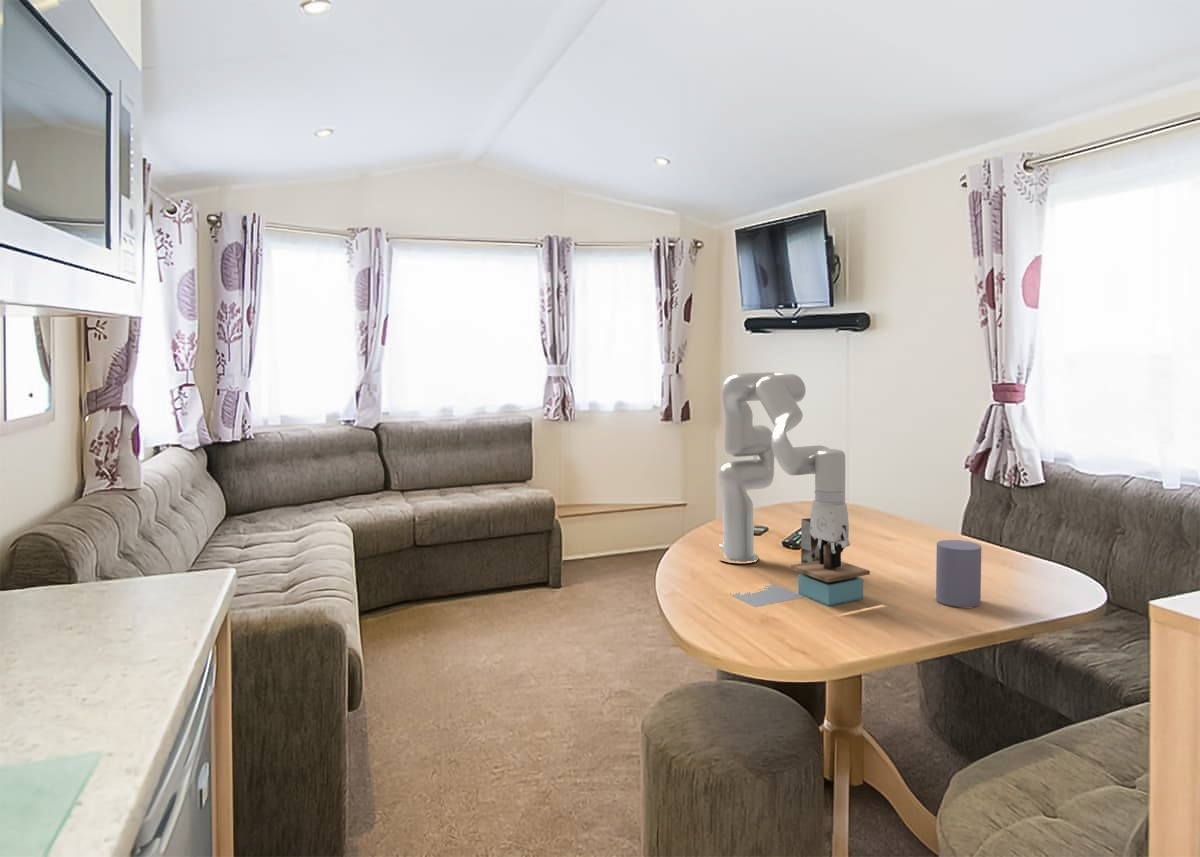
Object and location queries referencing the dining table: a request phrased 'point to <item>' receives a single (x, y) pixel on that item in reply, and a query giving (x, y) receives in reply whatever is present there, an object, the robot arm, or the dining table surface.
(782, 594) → the mat
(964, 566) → the container
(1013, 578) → the dining table surface
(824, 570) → the lid
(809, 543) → the coffee box
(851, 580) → the open box
